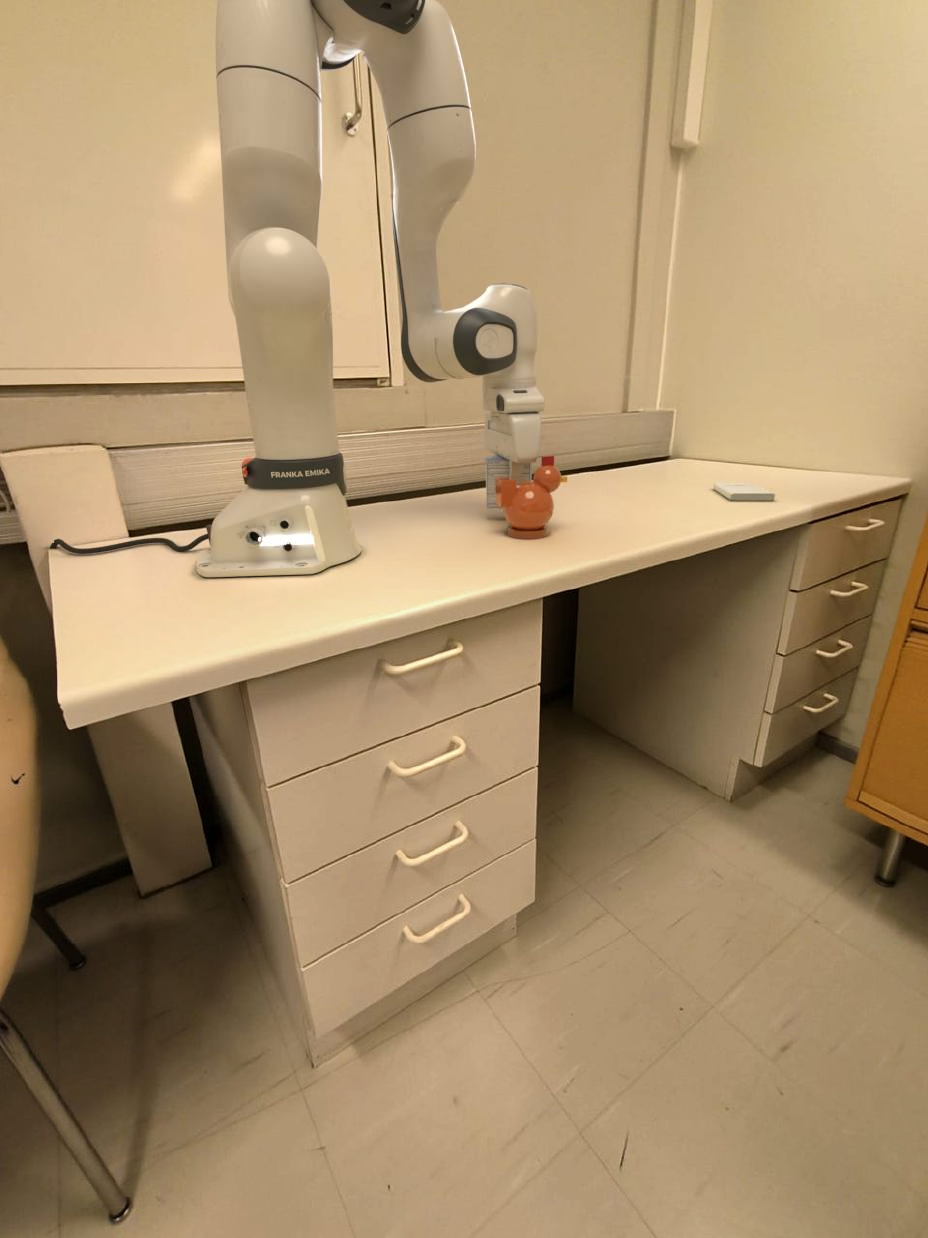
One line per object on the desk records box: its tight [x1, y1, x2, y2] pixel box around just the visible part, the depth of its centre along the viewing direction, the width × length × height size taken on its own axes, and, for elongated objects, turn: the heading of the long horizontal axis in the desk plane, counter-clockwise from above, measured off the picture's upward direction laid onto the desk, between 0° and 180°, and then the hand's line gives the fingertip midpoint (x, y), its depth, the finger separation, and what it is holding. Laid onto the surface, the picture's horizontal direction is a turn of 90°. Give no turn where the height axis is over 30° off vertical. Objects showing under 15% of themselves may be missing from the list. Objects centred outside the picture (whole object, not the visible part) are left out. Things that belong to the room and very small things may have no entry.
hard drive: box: [712, 482, 776, 502], centre depth 116 cm, size 2×8×12 cm
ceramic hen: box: [495, 454, 568, 540], centre depth 89 cm, size 11×8×12 cm
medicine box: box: [484, 455, 533, 510], centre depth 98 cm, size 8×4×9 cm, turn 84°
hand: (508, 483), depth 98 cm, fingers closed on medicine box, 5 cm apart
